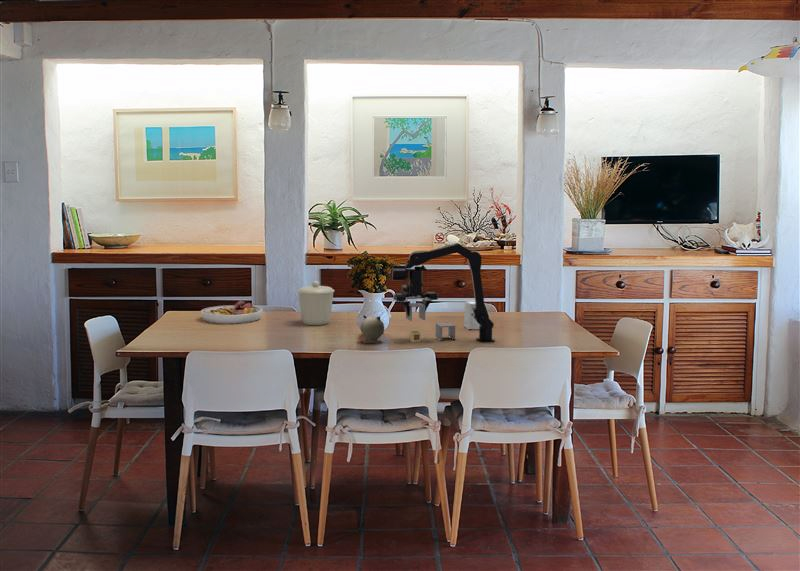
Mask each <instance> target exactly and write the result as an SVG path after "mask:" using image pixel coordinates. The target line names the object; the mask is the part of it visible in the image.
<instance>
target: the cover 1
mask: <svg viewBox="0 0 800 571" xmlns="http://www.w3.org/2000/svg"><path fill="white" fill-rule="evenodd" d="M413 308H418V318H420V319H421V320H423V321H426V312H425V305H424V304H423V303H422V302H414V303H413V302H411V303H410V302H409V317H408V316H407V314H406V313H405V319H407V320H409V321H410V322H412V321H413Z"/></svg>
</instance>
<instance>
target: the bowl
mask: <svg viewBox="0 0 800 571" xmlns="http://www.w3.org/2000/svg"><path fill="white" fill-rule="evenodd" d="M262 314H263V308H262V307H259V306H255V305H254V306H253V304H252V303H251V302H248V303H246V302H245V301H243V300H239V301H237V302H236V303H235V304H234V305H233V304H232V305H231V304H230V305H217V306H209V307H206V308H203V309H201V310H200V315H201V317H202V319H203V320H204V321H206V322H208V323H212V324H218V323H219V324H222V325H223V324H224V325H234V324H236V325H237V323H238V324H245V323H252V322H255V321H257V320H258V319H260V318H261V317H262V316H263V315H262Z"/></svg>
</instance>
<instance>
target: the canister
mask: <svg viewBox="0 0 800 571" xmlns="http://www.w3.org/2000/svg"><path fill="white" fill-rule="evenodd" d="M296 292H297V293H298V301H299V310H300V317H301V321H302V323H303V324H304V325H308V326H324V325H328V324H329V323H330V321H331V316H332V309H333V308H332V307H333V300H334V292H335V289H333V288H332V287H331V286H328V285H320V281H318V280H313V281H312V282H311V285H307V286H306V285H305V286H302V287H300V288H299V289H297V290H296Z"/></svg>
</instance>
